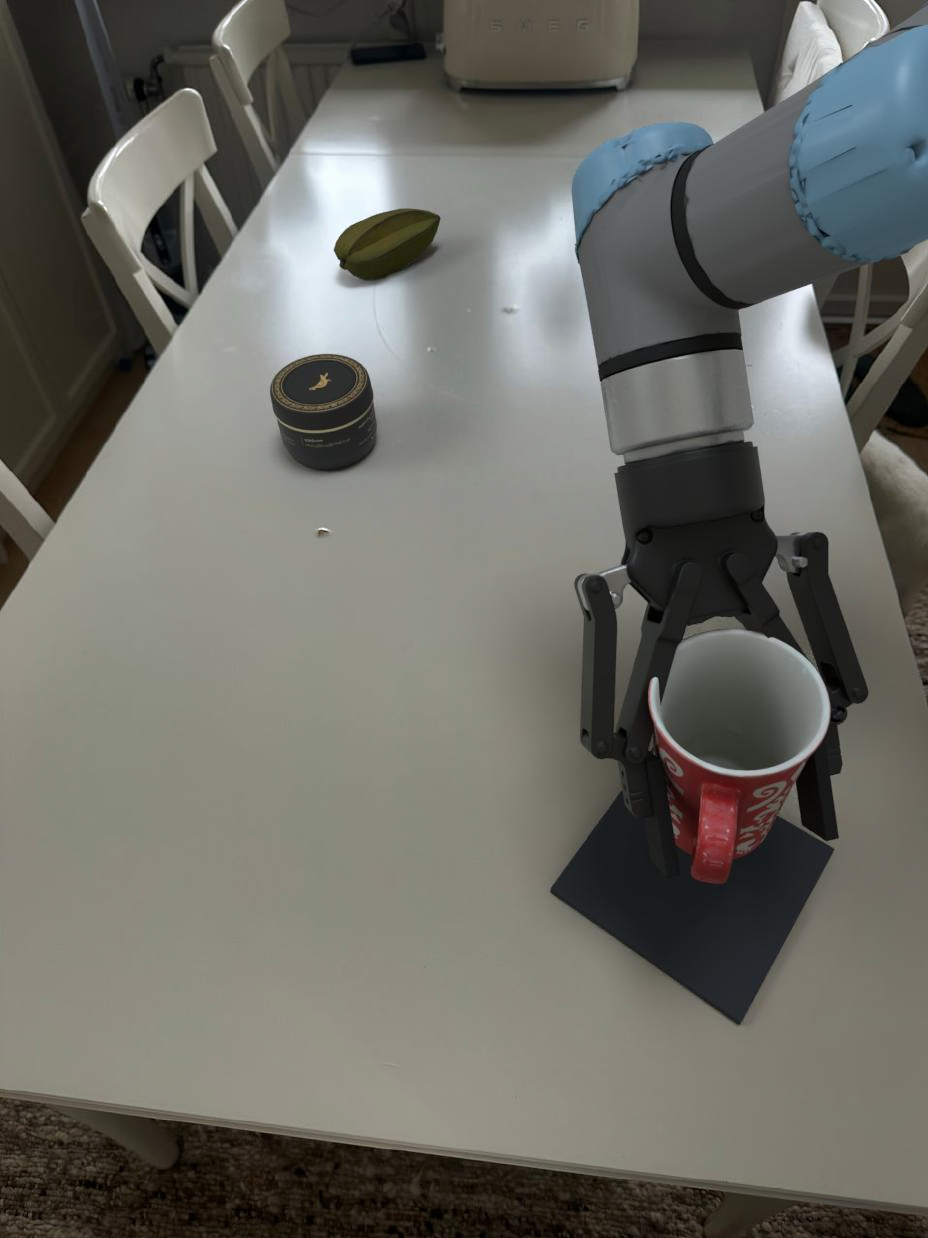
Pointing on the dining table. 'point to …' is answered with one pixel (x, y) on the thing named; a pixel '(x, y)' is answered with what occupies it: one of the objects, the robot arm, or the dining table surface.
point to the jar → (325, 410)
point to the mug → (733, 740)
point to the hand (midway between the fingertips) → (743, 849)
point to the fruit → (386, 242)
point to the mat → (695, 904)
